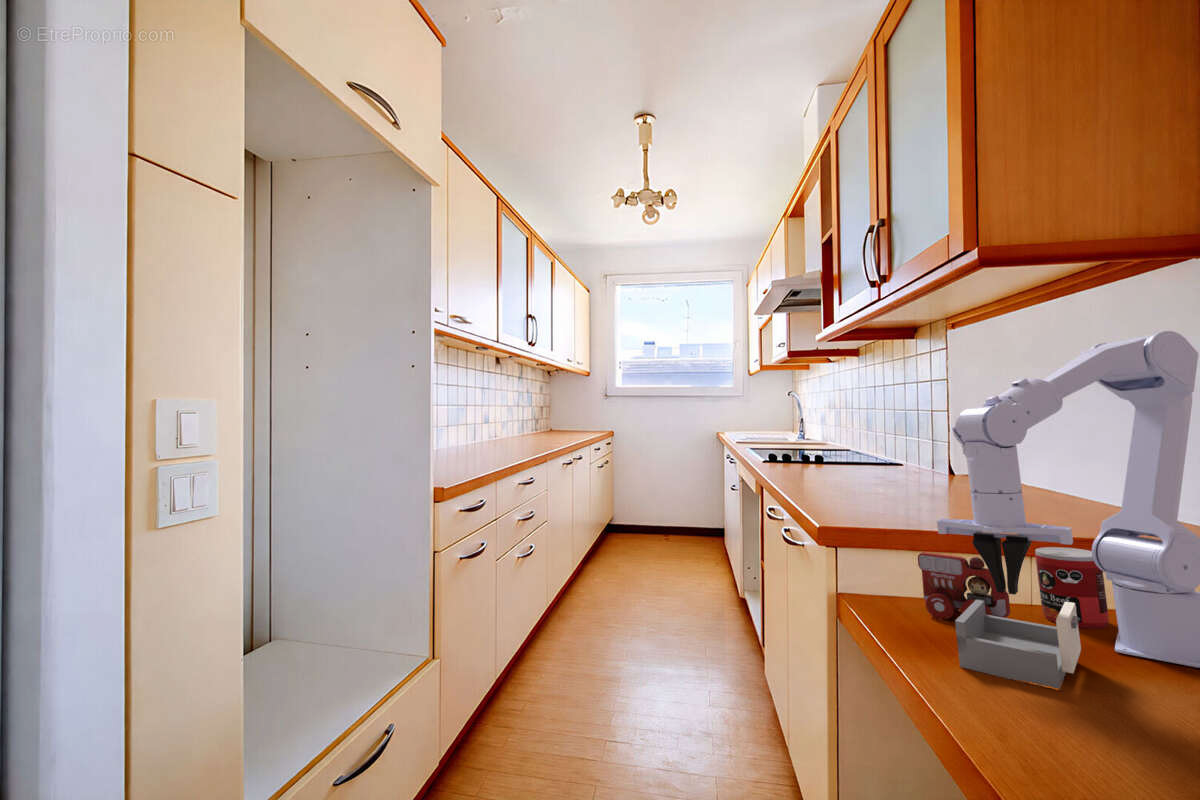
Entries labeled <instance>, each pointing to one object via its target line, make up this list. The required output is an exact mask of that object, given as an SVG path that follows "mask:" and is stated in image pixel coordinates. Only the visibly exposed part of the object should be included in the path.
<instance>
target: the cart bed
mask: <svg viewBox="0 0 1200 800" xmlns="http://www.w3.org/2000/svg"><path fill="white" fill-rule="evenodd" d="M954 625H955V633H956V641H957V642H956V643H957V650H958V660H959V667H960V668H963V669H967V670H971V671H975V672H980V673H983V674H988V675H991V676H995V677H999V678H1004V679H1008V680H1011V679H1013V681H1015V680H1020V681H1026V682H1032V683H1036V684H1039V685H1045V686H1050V687H1054V688H1058V689H1059V688H1060V686H1061V683H1062V681H1063V682H1064V680H1063V679H1065V678H1064V676H1065V677H1066V675H1067V672H1064V671H1062V666H1061V658H1060V650H1059V642H1058V634H1057V626H1053V625H1047V624H1043V623H1036V622H1030V621H1024V620H1018V619H1013V618H1008V617H1006V618H1003V617H997V616H991V615H986V612H985V603H984V601H982V600H975V601H974V602H973V603H972V604H971V605H970V606H969V607H968V608H967V609H966V610H965V611H964V612H963V613H962V614H961V613H960V616H958V617H957V618H956V619H955V620H954ZM1065 674H1066V675H1065ZM1062 684H1063V683H1062ZM1061 687H1062V686H1061Z"/></svg>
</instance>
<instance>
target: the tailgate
mask: <svg viewBox="0 0 1200 800" xmlns="http://www.w3.org/2000/svg"><path fill="white" fill-rule="evenodd" d="M1055 624H1056V626H1055V627H1057V634H1058V642H1059V650H1060V658H1061V666H1062V671H1064V672H1066V673H1069V674H1074V673H1075V670H1076V668H1077V667H1076V666H1077V664H1078V661H1079V657H1080V655H1081V652H1082V646H1081V639H1080V631H1079V629H1080V628H1078V617H1077V614H1076V606H1075V603H1072V602H1065V603H1064V605H1063V607H1062V609H1061V611H1060V613H1059V615H1058V617H1057V619H1056V623H1055Z"/></svg>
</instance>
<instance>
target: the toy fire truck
mask: <svg viewBox="0 0 1200 800" xmlns="http://www.w3.org/2000/svg"><path fill="white" fill-rule="evenodd" d="M917 566H918V568H919V569H920V570H921V577H922V579H921V581H922V590H923V592H922V593H923V600H924V601H925V608H926V610H927V612H928V613H929V615H931V616H932V617H934V618H935V619H937V618H938V620H942V619H944V621H945V620H948V619H950V618H952V617H953V616H954V614H955V613H956V612H958V611H960V615H961V614H962V613H963V612H964V611H965V610H966V609H967V608H968V607H969V606H970V605H971V604H972V603H973V602H974V601H975V600H982V601H984V603H985V612H986V615H991V616H997V617H1003V618H1008V617H1010V614H1011V605H1010V596H1009V595H1010V594H1009V592H1007V589H1006V590H1005V591H1004V592H1003V593H1000V592H997V590H996V587H995V584H994V581H993V578H992V576H991V574H990V571H989V569H988V567H986V568H985V566H986V565H985V562H984V560H983V559H982V558H980V557H979V556H975V557H971V558H970V559H969V561H968V560H967V559H966V558H965V557H963V556H958V555H957V556H956V555H949V554H941V553H940V554H939V553H933V552H926V551H925V552H920V553H919V554H918V556H917ZM967 579H968V580H967ZM968 589H969V591H970V592H967V591H968ZM966 592H967V593H966ZM989 592H990V594H989ZM965 593H966V596H965Z"/></svg>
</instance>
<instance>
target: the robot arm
mask: <svg viewBox="0 0 1200 800" xmlns="http://www.w3.org/2000/svg"><path fill="white" fill-rule="evenodd" d="M1198 362H1199V351H1197V350H1196V349H1195V347H1194V346H1193V345H1192V344H1191V343H1190V341H1188V339H1187V338H1185V336H1183V335H1182V334H1180V333H1179V332H1176V331H1171V330H1163V331H1160V332H1156V333H1154V334H1150V335H1149V334H1148V335H1143V336H1139V337H1135V338H1133V337H1132V338H1128V339H1123V340H1122V339H1121V340H1118V341H1112V342H1102V343H1097V344H1095V345H1093V346H1092V347H1090V348H1087V349H1085V350H1081V351H1080V355H1078V356H1076V357H1075V358H1074V359H1072V360H1070V361H1069V362H1068V363H1066V364H1065V365H1063V366H1061V367H1060V368H1059V369H1057V370H1056V371H1054V372H1053V373H1051V374H1049V375H1048V376H1047V377H1045V378H1044V379H1039V378H1021V379H1020V378H1019V379H1016V380H1015V381H1012V382H1011V387H1010V388H1009V389H1008V390H1005V391H1004V392H1002V393H1000V394H999V395H992V396H989V397H988V398H986V399H985V403H984V404H983V405H982V406H976V407H969V408H966V409H965V410H963V411H962V412H960V414H959V415H958V417H957V419H956V421H955V424H954V427H951V428H952V433H953V434H952V435H953V436H954V437H955V439H956V441H958V442H959V444H960V445H961V447H962V454H963V455H964V456H965V458H966V463H967V466H966V467H967V474H968V475H967V476H968V482H969V491H970V499H971V500H970V501H971V508H972V517H973V519H954V518H953V519H949V518H940V519H938V520H936V526H937V533H938V534H939V535H947V534H948V535H949V534H950V535H960V536H961V535H962V536H973V539H972V541H971V542H972V544H973V547H974V548H975V550H976V551H977V553H978V554H979V555H980V557H981V559H982V560H983V562H984V565H985V566H986V568H987V569H989V571H990V574H991V576H992V578H993V581H994V584H995V587H996V590H997V592H1000V593H1003V592H1004V591H1005V590H1006V591H1008V592H1007V593H1008V595H1014V596H1015V595H1017V593H1018V592H1019V579H1020V573H1021V569H1022V566H1023V564H1024V563H1023V562H1024V561H1025V557H1026V555H1027V553H1028V551H1029V549H1030V547H1031V544H1032V541H1035V542H1047V543H1057V544H1058V543H1059V544H1060V545H1070V546H1071V545H1073V544H1074V540H1073V531H1072V527H1069V526H1061V525H1059V526H1058V525H1057V526H1056V525H1048V524H1042V523H1041V524H1040V523H1039V524H1038V523H1030V522H1026V511H1025V504H1024V497H1023V490H1022V481H1021V480H1022V479H1021V472H1020V463H1019V456H1018V450H1017V449H1018V448H1017V445H1020V444H1021V443H1022V442H1023V441H1024V440H1025V439H1026V436H1027V433H1028V430H1029V429H1031V428H1032V427H1034V426H1036V425H1038V424H1039V423H1041V422H1042V421H1044V420H1046V419H1049V417H1051V416H1053V415H1055V414H1057V413H1058V412H1059V411H1060V410H1062V407H1063V403H1064V401H1063V399H1065V398H1067V397H1068V396H1070V395H1072V394H1074V393H1076V392H1078V391H1080V390H1082V389H1084V388H1087V387H1088V386H1090V385H1093V383H1096V382H1097V384H1099V385H1100V386H1102V387H1103V388H1105V389H1107V390H1108V391H1110V393H1112V394H1114V395H1116V396H1117V397H1119V399H1122V400H1125V401H1128V402H1129V403H1131V405H1133V406H1134V415H1133V422H1132V430H1131V436H1130V442H1129V443H1130V444H1129V451H1128V459H1127V466H1126V473H1125V481H1124V489H1123V493H1122V494H1123V495H1122V501H1121V509H1120V511H1119V512H1117V513H1115V514H1113V515H1111V516H1109V517H1108V518H1106V519H1103V521H1101V526H1100V530H1099V533H1098V535H1097V536H1096V537H1095V539H1094V540H1093V542H1092V545H1091V551H1092V557H1093V560H1094V562H1095V564H1096V565H1097V567H1098V568H1099V569H1100V570H1102V571H1103V573H1105V579H1106V580H1108V581H1111V585H1112V591H1113V592H1112V593H1113V600H1114V606H1115V607H1114V608H1115V614H1116V620H1117V628H1118V630H1117V631H1118V632H1117V634H1116V638H1115V644H1114V651H1115V652H1117V653H1119V654H1124V655H1131V656H1135V657H1140V658H1146V659H1151V660H1156V661H1162V662H1166V663H1172V664H1176V665H1177V664H1178V665H1183V666H1187V667H1193V668H1199V669H1200V591H1196V588H1197V587H1198V586H1200V537H1199V536H1198V535H1197V534H1196V533H1195V532H1194V531H1192V530H1190V529H1189V528H1187V527H1186V526H1185V525H1184V524H1182V523H1181V522H1180V521H1178V517H1179V509H1180V502H1181V496H1182V495H1181V494H1182V493H1181V492H1182V486H1183V478H1184V477H1183V476H1184V470H1185V463H1186V453H1187V448H1188V447H1187V445H1188V441H1189V440H1188V439H1189V430H1190V424H1191V423H1190V422H1191V416H1192V415H1191V414H1192V406H1193V393H1194V392H1195V384H1196V376H1197V369H1198ZM1142 536H1143V537H1142ZM1144 536H1147V537H1144ZM1148 537H1154V538H1148ZM1157 538H1159V539H1157ZM1002 539H1005V540H1003V541H1002ZM1002 552H1003V555H1002ZM1003 556H1004V562H1005V566H1006V575H1005V572H1004V571H1005V570H1004V566H1003ZM1005 576H1006V577H1005Z"/></svg>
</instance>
